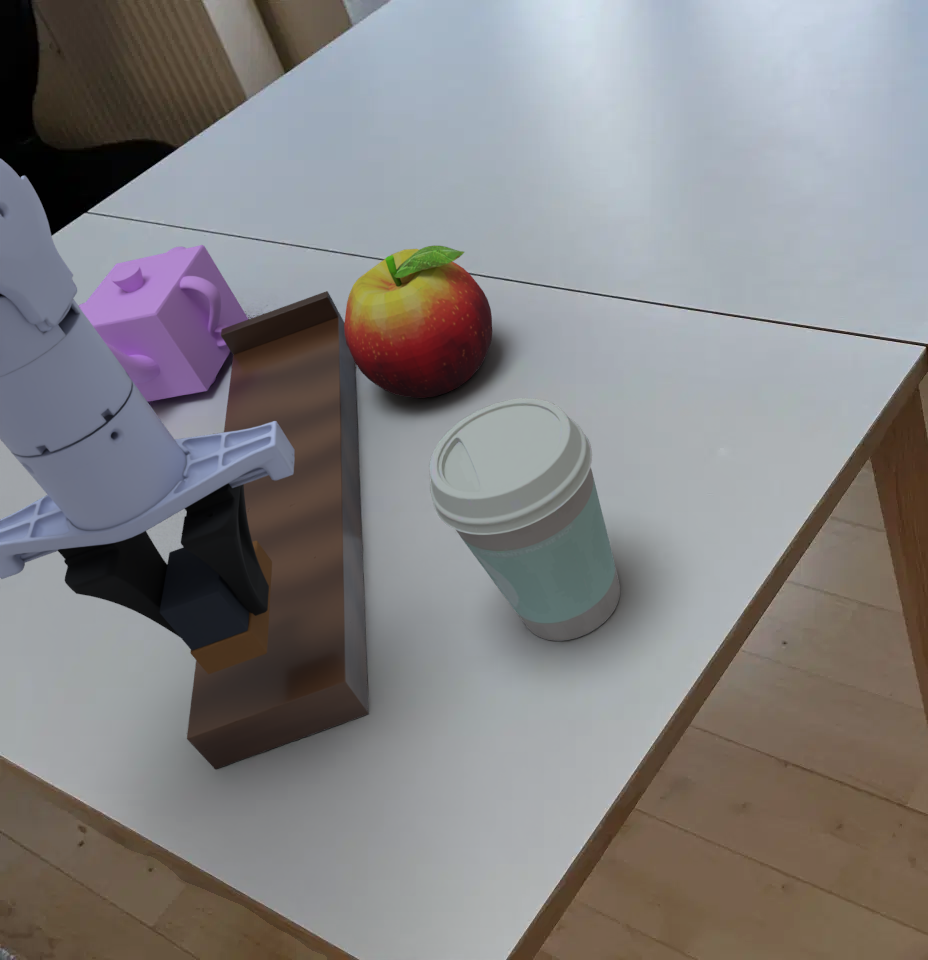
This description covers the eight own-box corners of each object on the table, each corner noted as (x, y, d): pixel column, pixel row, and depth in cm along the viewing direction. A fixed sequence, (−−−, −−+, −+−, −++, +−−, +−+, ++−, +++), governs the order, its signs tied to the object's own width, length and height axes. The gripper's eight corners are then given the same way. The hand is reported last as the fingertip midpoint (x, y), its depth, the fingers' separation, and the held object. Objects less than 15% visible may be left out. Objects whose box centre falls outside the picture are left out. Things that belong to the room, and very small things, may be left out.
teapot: (214, 432, 86) (143, 328, 80) (65, 458, 90) (-16, 360, 83) (286, 302, 99) (229, 203, 93) (153, 329, 103) (90, 235, 96)
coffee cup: (523, 548, 67) (449, 397, 59) (656, 543, 64) (597, 384, 57) (481, 662, 61) (394, 511, 53) (627, 661, 58) (556, 502, 51)
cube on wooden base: (267, 653, 56) (219, 592, 53) (208, 675, 56) (156, 614, 53) (272, 561, 61) (229, 500, 58) (218, 581, 61) (172, 521, 58)
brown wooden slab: (369, 714, 61) (328, 658, 57) (214, 769, 61) (165, 717, 57) (354, 340, 91) (327, 290, 88) (251, 377, 91) (221, 328, 88)
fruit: (390, 345, 89) (336, 238, 82) (517, 318, 87) (472, 207, 80) (361, 431, 81) (299, 320, 75) (500, 404, 79) (448, 288, 72)
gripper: (233, 311, 51) (358, 515, 60) (-61, 417, 51) (107, 605, 60) (222, 395, 46) (361, 606, 54) (-107, 513, 46) (85, 705, 55)
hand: (227, 612), depth 57 cm, fingers closed on cube on wooden base, 3 cm apart
